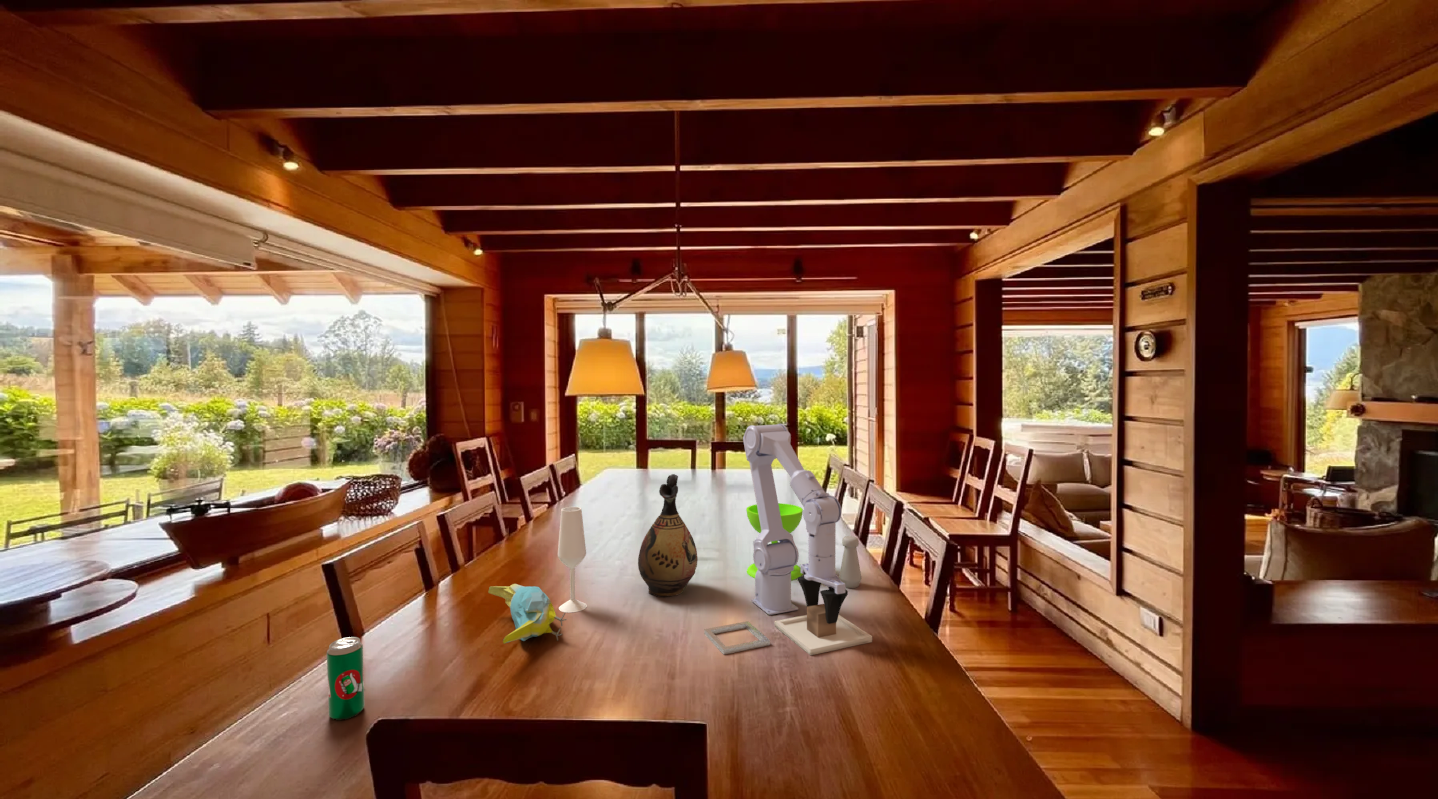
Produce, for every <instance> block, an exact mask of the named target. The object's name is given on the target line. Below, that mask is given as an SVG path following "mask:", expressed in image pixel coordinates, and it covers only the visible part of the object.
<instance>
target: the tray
mask: <svg viewBox="0 0 1438 799" xmlns="http://www.w3.org/2000/svg"><path fill="white" fill-rule="evenodd" d="M774 628H776V629H777V630H779V631H780V632H781V633H782V634H783V635H785V636H786V637H787V638H789V640H791V641H792V642H793V643H794V644H795V645H797V646H798V647H800V648H801V649H802V650H803V651H805V653H807V654H808V655H810V656H814V655H819V654H823V653H827V652H832V651H837V650H841V649H845V648H851V647H856V646H859V645H864V644H869V643H873V635H871V634H869V633H868V632H866V631H865V630H864V629H861V628H860V627H859V626H857V625H856V624H854V623H852V622H851V621H849V620H848V619H846V618H844V617H843V616H842V615H840V614H839V615H838V619H837V622H836V634H834V635H829V636H824V637H820V638H818V637H816V636H815V635H814V634H812V633H811V632H810V631H808V630H807V614H805V615H799V616H795V617H789V618H784V619H778V620H774Z"/></svg>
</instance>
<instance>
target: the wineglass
mask: <svg viewBox="0 0 1438 799" xmlns="http://www.w3.org/2000/svg"><path fill="white" fill-rule="evenodd" d="M778 504H779V510H780V515H781V521H782V526H783V529H785V530H786V531H788V532H789V533H790V534H792V533H793V532H794V531H795V530H796V529H797V528H798V526H799V525H800V523H801V521H802V519H803V511H802V510H804V508H803V507H801V506H798V505H796V504H795V505H794V504H791V503H783V502H782V503H779V502H778ZM745 511H746V517H747V519H748V521H749V524H750V525H751V527H752V528H753V529H754V530H755V532H757V533H758V534H760V533H761V526H760V520H759V514H758V508H757V503H756V504H752V505H749V506H747V507H746V510H745ZM778 542H779V541H771V542H770V544H772V543H778ZM757 570H758V569H757V567H756V566H755V563H752V564H750V565H749V566H748V567H747V569H746V574H747V575H748V576H749V577H751V578H754V579H755V575H756V572H757ZM803 575H804V574H802V573H801V566H800V565H798V564H796V565H795V566H794V570H793V571H791V581H794V580H798V577H801V576H803Z"/></svg>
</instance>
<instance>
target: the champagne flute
mask: <svg viewBox="0 0 1438 799" xmlns="http://www.w3.org/2000/svg"><path fill="white" fill-rule="evenodd" d="M559 518H560V519H559V520H560V522H559V533H558V546H557V548H558V549H557V558H558V559H559V561H560V563H562V564H563V565H564V566H566V567H567V568H569V592H570V593H569V595H570V596H569V598H570V599H569V600H567V601H565V602H564V603H562V604H561V605H560V606H559V607H558V610H559V611H560V612H562V613H567V614H568V613H578V612H582V611H583V610H586V608H587V606H588V604H587V603H585V602H583V601H581V600H578V599H576V570H575V569H576V567H578V566H579V565H580V564H581V563H582V562H583V560H584V559H585V557H586V556H587V549H586V547H587V546H586V538H585V530H584V520H583V513H582V507H580V506H567V507H562V508H561V510H560V517H559Z"/></svg>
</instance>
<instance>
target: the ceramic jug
mask: <svg viewBox="0 0 1438 799" xmlns="http://www.w3.org/2000/svg"><path fill="white" fill-rule="evenodd" d="M678 478H679V475H677V474H675V473H674V474H673V473H672V474H670V475H669V474H668V477H667V479H666V483H663V484H661V485H660V487H659V491H658V493H659V495H660V496H661V497H662V498H663V506H662V509H661V513H660V514H659V515H658V517H656V519H655V521H654V522H653V523H652V524H651V526H650V528H649V529H648V531H647V533H646V534H645V536H644V538H643V540H642V542H641V545H640V549H639V553H638V559H637V567H638V570H639V575H640V577H641V579H642V580H643V581H644V583H645V585H647V587H648V594H649V595H652V596H655V597H659V598H667V597H675V596H678V595H680V594H682V593H683V592H684V591H685V590H684V589H685V588H686V587H687V585H688V583H689V582H690V581H691V580H692V578H693V576H694V575H695V574H696V570H697V567H698V550H697V546H696V543H695V540H694V538H693V535H692V534H691V532H690V530H689V529H688V527H687V525H686V523H685V521H684V520H683V519H682V517H681V516H680V514H679V513H680V512H679V511H678V509H677V505H676V502H677V501H676V500H677V495H678V493H679V486H678Z"/></svg>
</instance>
